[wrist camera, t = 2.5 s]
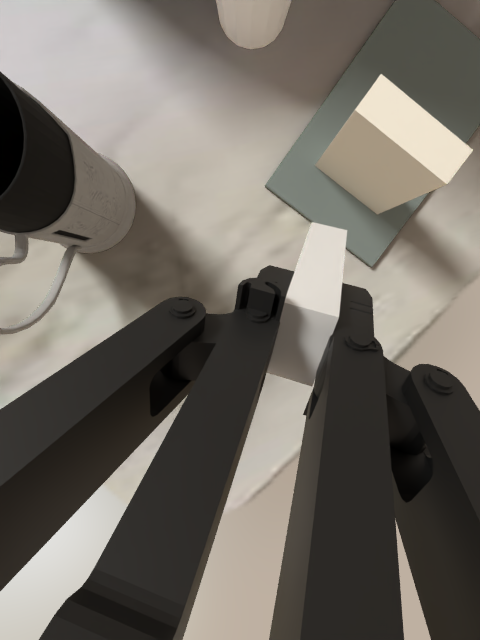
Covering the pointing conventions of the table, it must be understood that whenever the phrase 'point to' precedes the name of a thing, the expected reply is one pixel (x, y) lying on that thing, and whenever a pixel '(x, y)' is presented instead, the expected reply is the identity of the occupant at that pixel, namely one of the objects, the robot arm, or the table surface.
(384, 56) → the mat
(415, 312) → the table surface
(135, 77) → the table surface
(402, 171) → the cream rectangular block
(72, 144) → the tall grey mug
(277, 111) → the table surface
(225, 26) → the white cup
